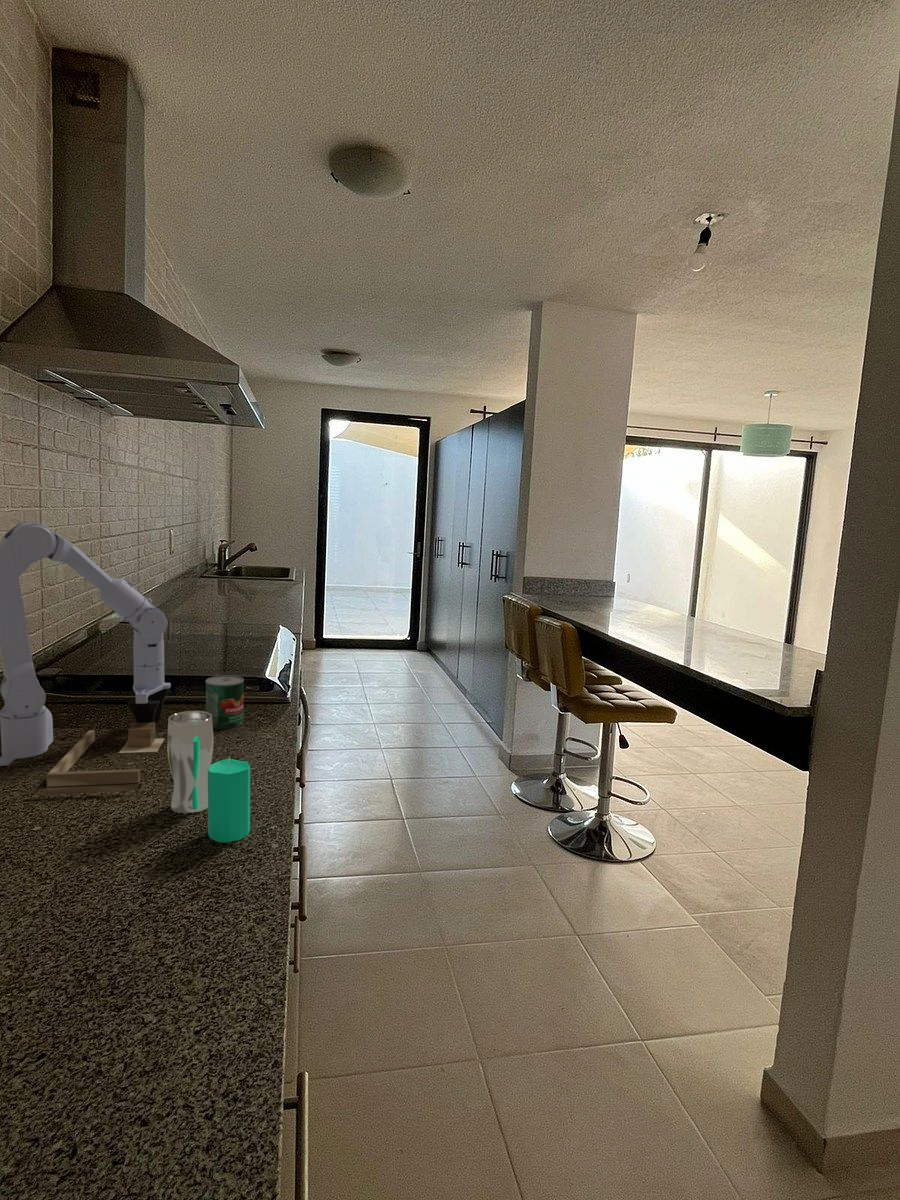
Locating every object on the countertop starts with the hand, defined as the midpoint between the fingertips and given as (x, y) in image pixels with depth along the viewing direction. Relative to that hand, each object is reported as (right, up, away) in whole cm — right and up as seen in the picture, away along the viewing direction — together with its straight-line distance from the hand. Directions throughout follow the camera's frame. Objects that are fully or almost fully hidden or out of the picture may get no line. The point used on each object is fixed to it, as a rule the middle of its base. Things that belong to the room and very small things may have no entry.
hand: (150, 727), depth 137 cm
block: (+1, -2, -7) cm, 7 cm away
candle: (+29, -9, -37) cm, 48 cm away
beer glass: (+20, -7, -29) cm, 36 cm away
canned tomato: (+13, -2, +8) cm, 15 cm away
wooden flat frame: (0, -4, -15) cm, 15 cm away
